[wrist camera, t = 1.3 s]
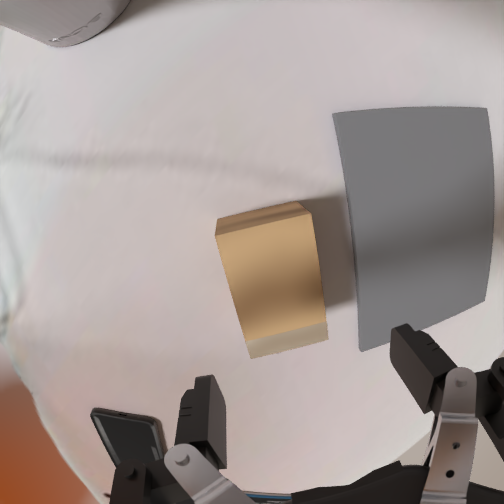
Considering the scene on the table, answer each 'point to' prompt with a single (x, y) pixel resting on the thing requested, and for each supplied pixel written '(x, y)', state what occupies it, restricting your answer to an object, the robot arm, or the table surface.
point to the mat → (417, 213)
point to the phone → (128, 436)
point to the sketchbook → (257, 498)
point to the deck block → (274, 277)
